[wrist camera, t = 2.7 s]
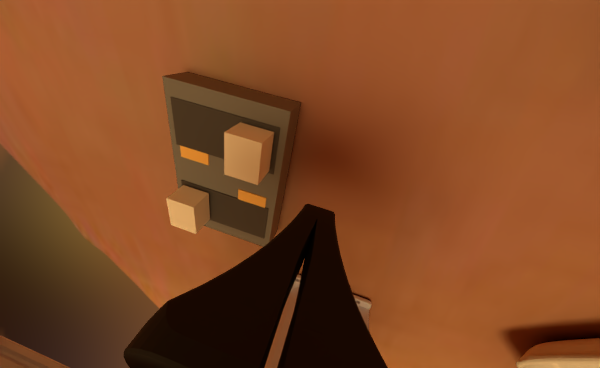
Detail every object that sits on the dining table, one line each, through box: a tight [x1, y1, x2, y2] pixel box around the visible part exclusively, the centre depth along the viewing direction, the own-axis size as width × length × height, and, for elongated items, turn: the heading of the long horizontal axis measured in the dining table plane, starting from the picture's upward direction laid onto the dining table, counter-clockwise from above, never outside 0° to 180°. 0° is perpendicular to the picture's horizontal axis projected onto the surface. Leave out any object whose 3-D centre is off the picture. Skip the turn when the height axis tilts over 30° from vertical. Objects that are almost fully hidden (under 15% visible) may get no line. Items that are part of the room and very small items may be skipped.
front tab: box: [224, 122, 274, 185], centre depth 15 cm, size 2×3×2 cm
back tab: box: [166, 185, 210, 234], centre depth 20 cm, size 2×3×2 cm
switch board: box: [162, 72, 301, 247], centre depth 19 cm, size 9×13×3 cm
